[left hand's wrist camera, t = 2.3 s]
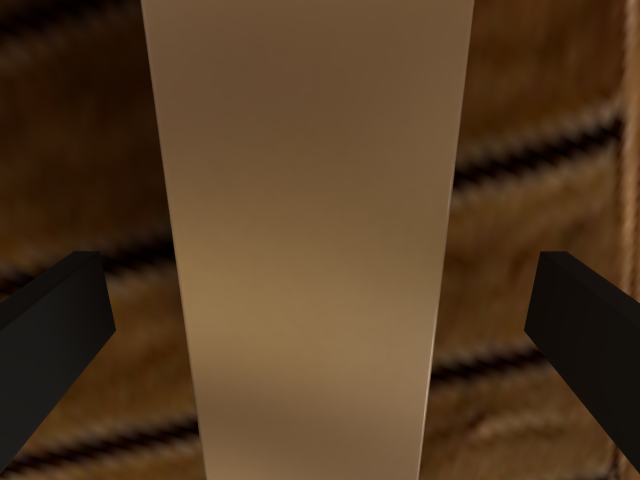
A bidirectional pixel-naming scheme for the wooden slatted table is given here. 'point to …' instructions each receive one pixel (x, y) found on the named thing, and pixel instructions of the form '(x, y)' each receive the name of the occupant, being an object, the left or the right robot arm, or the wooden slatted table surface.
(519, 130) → the wooden slatted table surface
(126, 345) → the wooden slatted table surface
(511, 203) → the wooden slatted table surface
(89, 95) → the wooden slatted table surface
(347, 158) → the bar
